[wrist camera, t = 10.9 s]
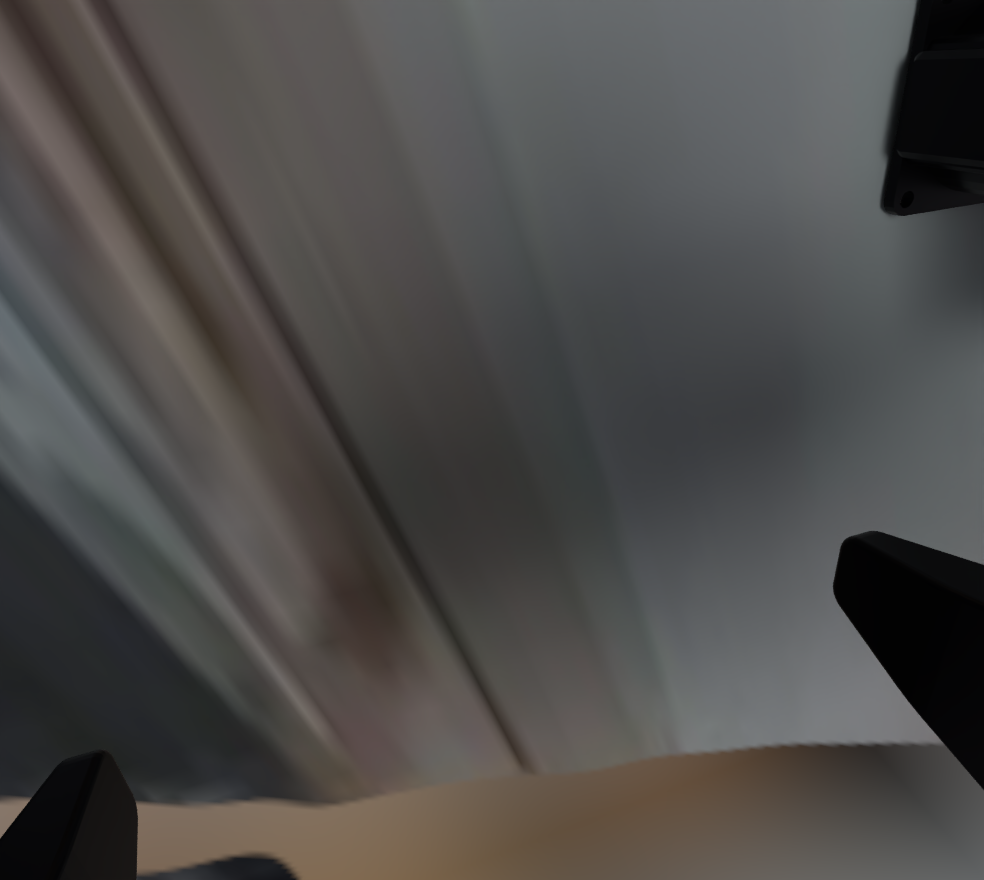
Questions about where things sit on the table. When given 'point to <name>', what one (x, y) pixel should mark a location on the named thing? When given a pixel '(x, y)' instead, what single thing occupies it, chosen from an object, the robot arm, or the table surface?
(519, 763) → the table surface
